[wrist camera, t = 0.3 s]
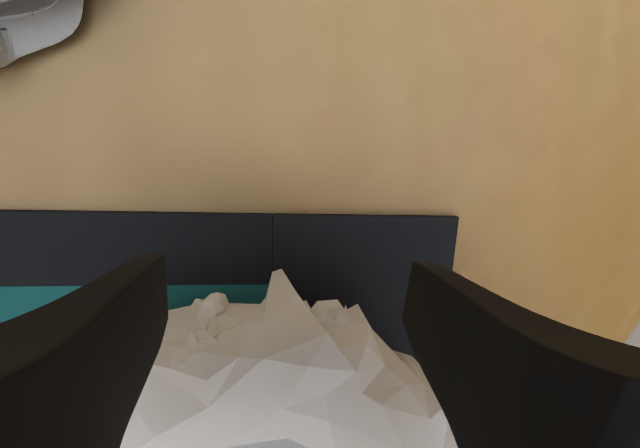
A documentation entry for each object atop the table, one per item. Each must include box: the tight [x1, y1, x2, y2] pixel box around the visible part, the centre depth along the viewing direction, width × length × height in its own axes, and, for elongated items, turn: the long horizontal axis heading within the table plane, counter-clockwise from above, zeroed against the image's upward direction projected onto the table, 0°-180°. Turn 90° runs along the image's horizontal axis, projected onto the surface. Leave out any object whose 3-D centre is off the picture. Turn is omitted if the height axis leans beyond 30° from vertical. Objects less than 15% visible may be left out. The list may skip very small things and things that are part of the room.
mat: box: [0, 210, 459, 362], centre depth 24 cm, size 31×24×1 cm
